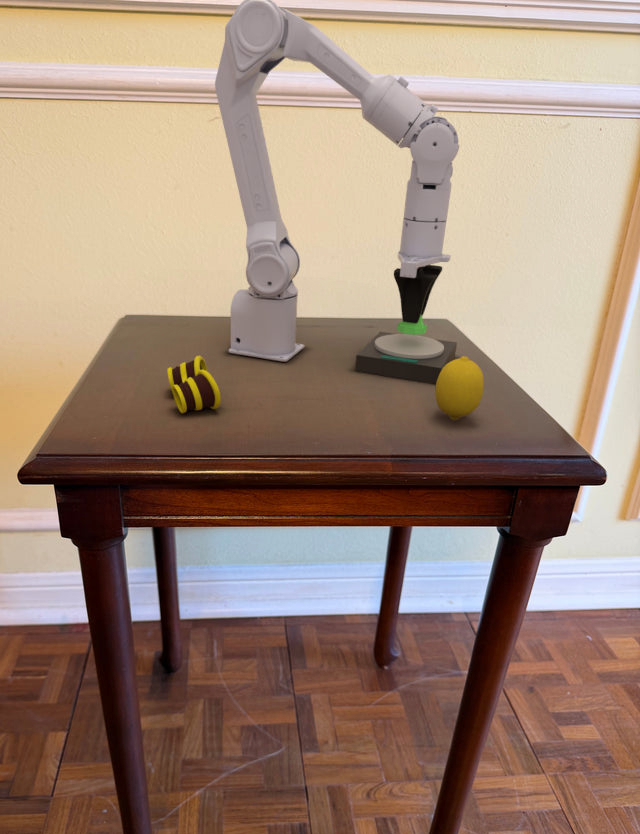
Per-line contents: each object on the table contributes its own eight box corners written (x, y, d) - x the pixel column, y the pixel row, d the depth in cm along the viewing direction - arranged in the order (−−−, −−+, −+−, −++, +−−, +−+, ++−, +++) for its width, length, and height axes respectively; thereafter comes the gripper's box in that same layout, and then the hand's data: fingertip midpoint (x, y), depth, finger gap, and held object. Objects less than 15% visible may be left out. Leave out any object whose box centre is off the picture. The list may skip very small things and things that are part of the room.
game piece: (423, 326, 101) (428, 285, 98) (429, 335, 97) (435, 292, 94) (394, 326, 100) (399, 284, 98) (399, 334, 97) (404, 291, 94)
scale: (355, 371, 97) (356, 350, 96) (378, 346, 108) (380, 327, 107) (438, 384, 94) (442, 363, 92) (454, 357, 104) (457, 338, 103)
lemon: (478, 431, 80) (490, 366, 76) (430, 426, 81) (440, 361, 77) (476, 413, 85) (487, 351, 81) (431, 409, 86) (440, 347, 82)
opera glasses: (171, 394, 89) (162, 359, 87) (210, 384, 90) (202, 349, 88) (182, 424, 81) (171, 386, 79) (224, 413, 82) (216, 374, 79)
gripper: (445, 228, 84) (430, 336, 91) (463, 215, 96) (449, 311, 102) (389, 224, 86) (378, 329, 93) (414, 211, 98) (403, 305, 105)
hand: (412, 319), depth 98 cm, fingers closed on game piece, 2 cm apart
